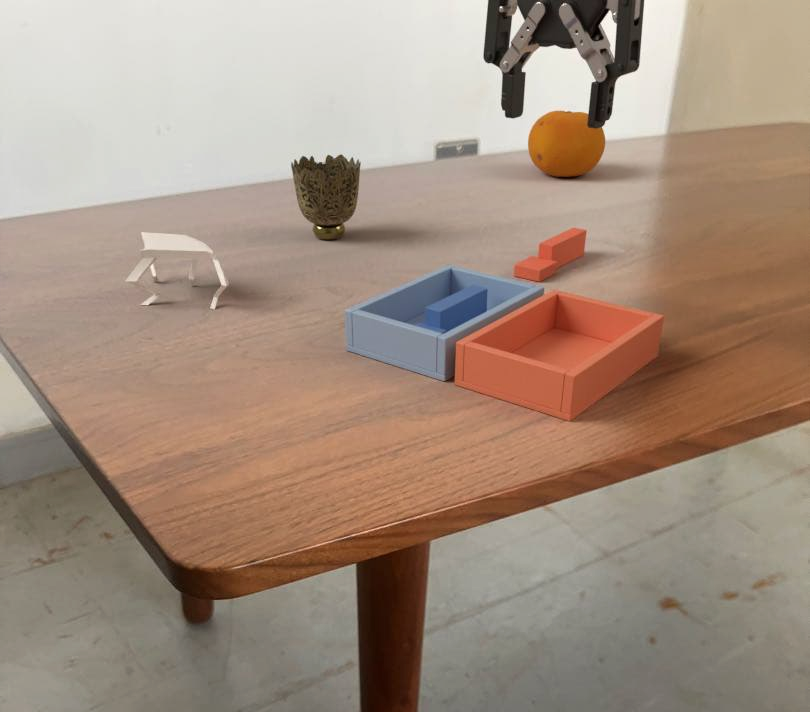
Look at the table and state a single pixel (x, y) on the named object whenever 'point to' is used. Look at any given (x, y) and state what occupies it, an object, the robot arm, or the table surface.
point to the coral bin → (558, 353)
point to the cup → (327, 193)
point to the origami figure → (173, 248)
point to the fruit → (565, 144)
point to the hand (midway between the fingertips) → (553, 122)
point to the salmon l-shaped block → (552, 255)
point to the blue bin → (405, 306)
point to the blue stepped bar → (455, 309)
